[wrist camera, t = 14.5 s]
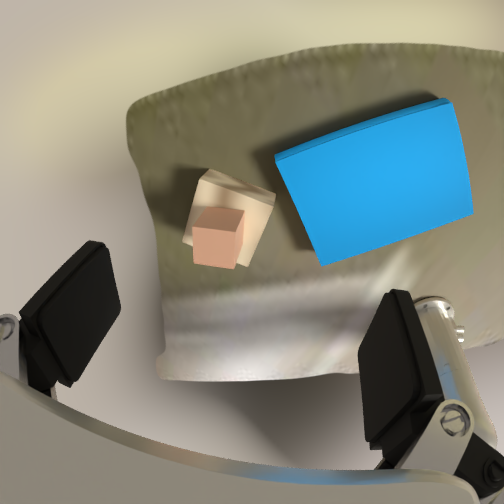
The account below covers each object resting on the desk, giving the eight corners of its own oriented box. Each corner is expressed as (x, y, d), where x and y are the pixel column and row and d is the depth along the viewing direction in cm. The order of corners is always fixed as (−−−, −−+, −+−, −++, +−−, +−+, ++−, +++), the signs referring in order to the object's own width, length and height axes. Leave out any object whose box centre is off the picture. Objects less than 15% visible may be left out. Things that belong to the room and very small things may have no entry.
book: (474, 213, 34) (322, 269, 42) (462, 201, 37) (320, 253, 46) (450, 96, 27) (271, 159, 35) (436, 94, 30) (274, 152, 39)
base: (276, 193, 42) (273, 206, 37) (252, 248, 47) (247, 266, 43) (210, 168, 41) (199, 178, 37) (192, 226, 46) (182, 241, 42)
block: (244, 210, 38) (235, 232, 33) (242, 244, 41) (233, 269, 36) (207, 206, 39) (192, 226, 34) (207, 239, 41) (193, 263, 36)
